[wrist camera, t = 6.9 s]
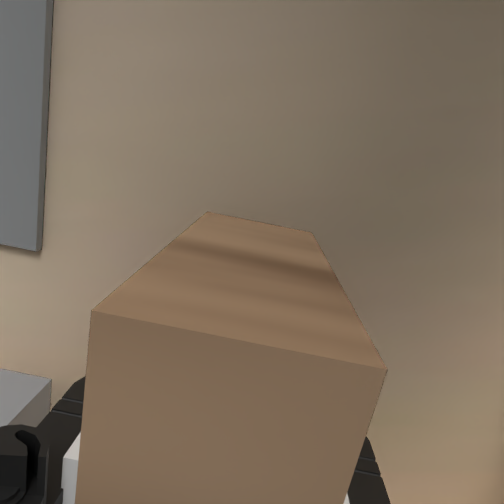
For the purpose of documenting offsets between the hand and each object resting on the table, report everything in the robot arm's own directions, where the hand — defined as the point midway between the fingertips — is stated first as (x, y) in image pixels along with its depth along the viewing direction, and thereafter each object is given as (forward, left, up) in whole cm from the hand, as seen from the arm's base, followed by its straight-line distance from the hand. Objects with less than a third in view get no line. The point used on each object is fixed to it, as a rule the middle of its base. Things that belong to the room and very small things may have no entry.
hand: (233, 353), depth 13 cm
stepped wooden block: (+4, 0, 0) cm, 4 cm away
